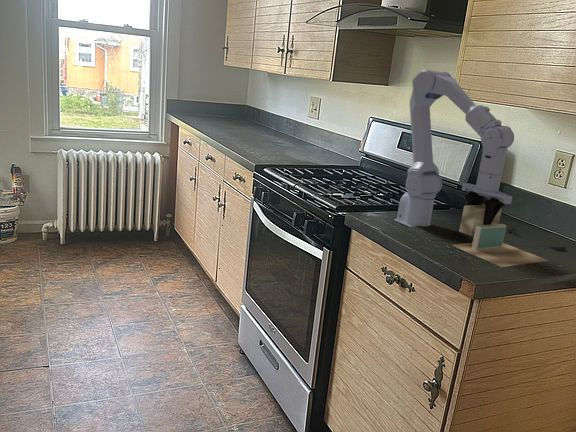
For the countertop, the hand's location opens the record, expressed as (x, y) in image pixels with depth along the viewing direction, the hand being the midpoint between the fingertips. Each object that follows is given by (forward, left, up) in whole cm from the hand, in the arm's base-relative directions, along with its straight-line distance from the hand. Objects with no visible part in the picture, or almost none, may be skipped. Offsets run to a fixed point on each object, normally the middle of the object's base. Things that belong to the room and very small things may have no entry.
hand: (479, 223), depth 145 cm
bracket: (+1, +21, -7) cm, 22 cm away
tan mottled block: (0, 0, -2) cm, 2 cm away
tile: (+4, 0, -5) cm, 7 cm away
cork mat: (+8, 0, -6) cm, 10 cm away
